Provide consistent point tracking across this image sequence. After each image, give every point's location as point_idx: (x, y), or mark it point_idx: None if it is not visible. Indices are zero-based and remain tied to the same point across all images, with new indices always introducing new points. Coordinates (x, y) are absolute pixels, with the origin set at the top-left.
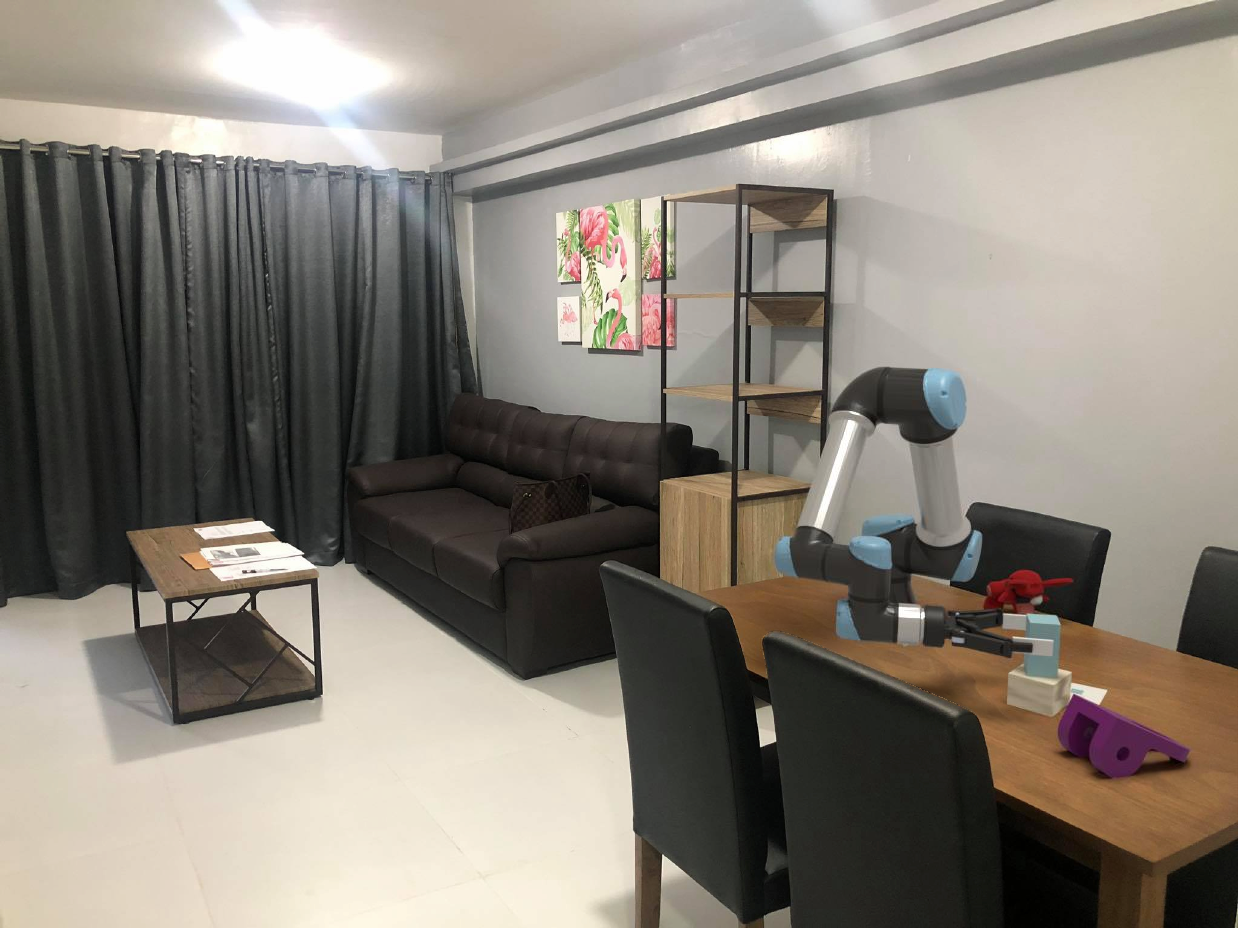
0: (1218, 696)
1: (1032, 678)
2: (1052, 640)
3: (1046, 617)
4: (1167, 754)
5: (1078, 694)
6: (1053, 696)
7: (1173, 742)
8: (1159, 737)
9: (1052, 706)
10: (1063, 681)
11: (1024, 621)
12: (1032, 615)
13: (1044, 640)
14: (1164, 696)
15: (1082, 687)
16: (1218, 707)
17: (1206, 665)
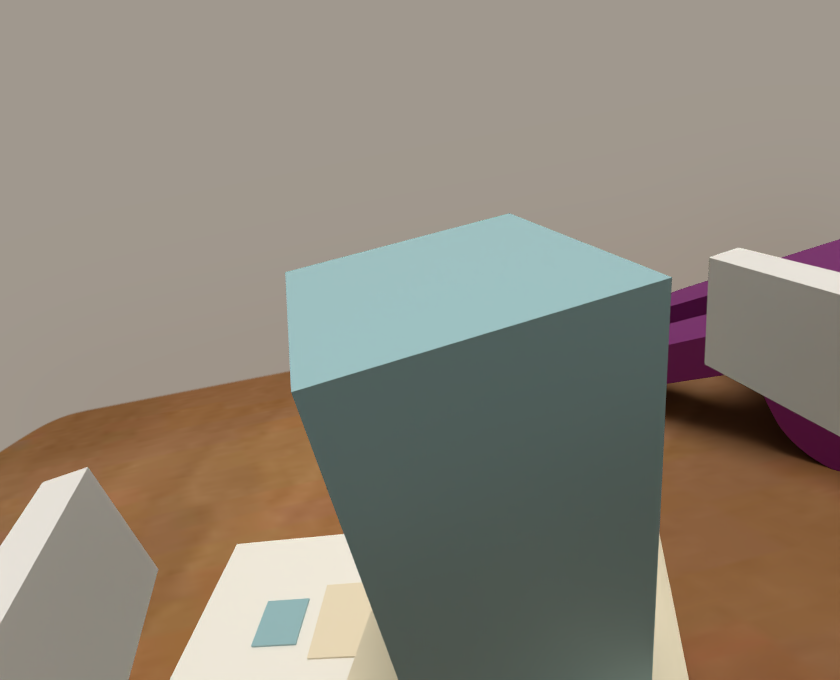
0: (222, 392)
1: (657, 649)
2: (724, 255)
3: (372, 279)
4: None
5: (313, 609)
6: None
7: (701, 286)
8: None
9: None
10: None
11: (56, 654)
12: (356, 340)
13: (797, 265)
14: (247, 444)
15: (226, 617)
16: (286, 379)
17: (29, 441)
